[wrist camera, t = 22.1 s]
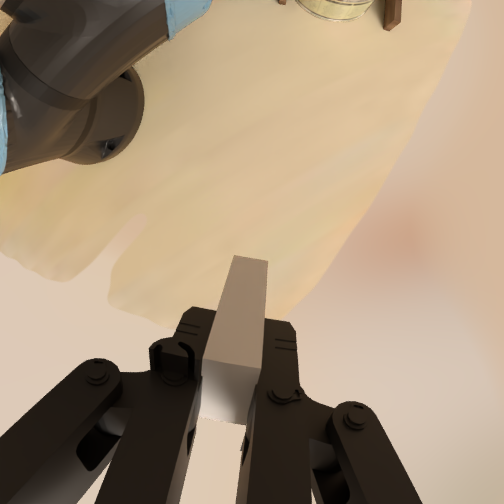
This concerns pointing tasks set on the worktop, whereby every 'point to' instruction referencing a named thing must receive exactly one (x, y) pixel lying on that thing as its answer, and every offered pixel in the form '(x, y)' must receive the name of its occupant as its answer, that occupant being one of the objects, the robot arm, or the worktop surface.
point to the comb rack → (391, 13)
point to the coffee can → (336, 9)
